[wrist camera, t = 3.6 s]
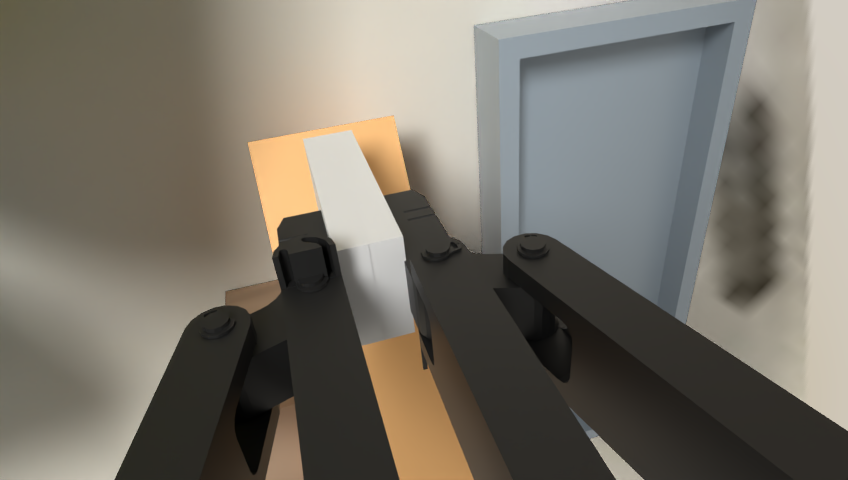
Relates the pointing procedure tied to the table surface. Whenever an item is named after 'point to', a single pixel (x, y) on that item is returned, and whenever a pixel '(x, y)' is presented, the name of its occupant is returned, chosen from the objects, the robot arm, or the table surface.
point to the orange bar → (388, 359)
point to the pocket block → (285, 454)
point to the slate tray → (610, 134)
